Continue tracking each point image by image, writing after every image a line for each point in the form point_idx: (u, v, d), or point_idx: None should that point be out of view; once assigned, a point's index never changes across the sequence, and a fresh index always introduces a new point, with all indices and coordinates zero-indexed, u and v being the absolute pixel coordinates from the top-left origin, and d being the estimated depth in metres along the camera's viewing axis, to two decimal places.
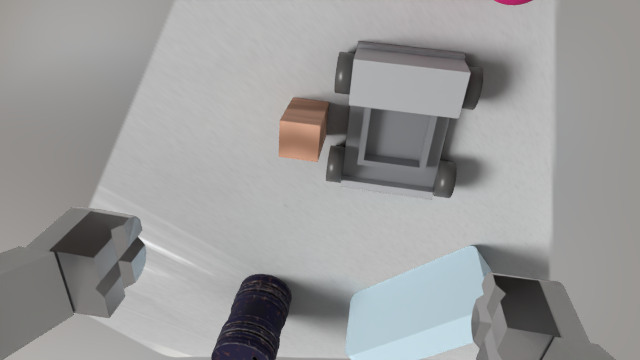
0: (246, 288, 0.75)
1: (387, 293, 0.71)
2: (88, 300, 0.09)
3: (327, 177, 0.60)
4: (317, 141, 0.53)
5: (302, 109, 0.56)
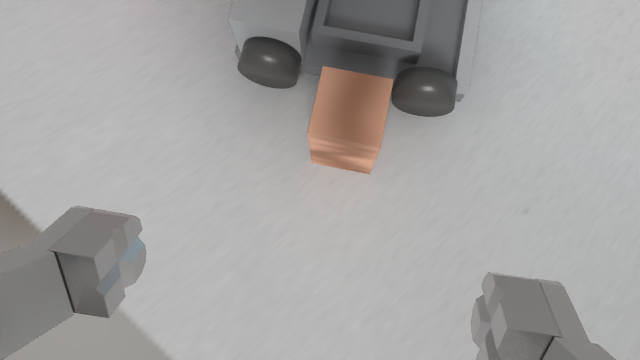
0: None
1: None
2: (88, 300, 0.09)
3: (441, 92, 0.33)
4: (352, 74, 0.30)
5: None
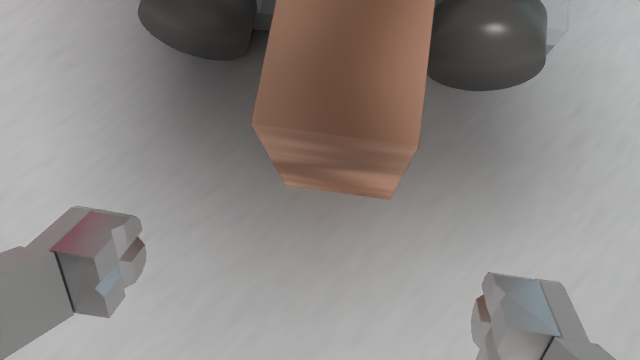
0: None
1: None
2: (88, 300, 0.09)
3: (525, 34, 0.17)
4: None
5: None
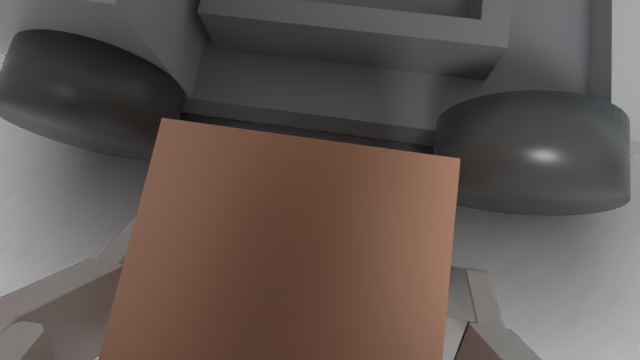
0: None
1: None
2: None
3: (605, 174, 0.10)
4: (283, 146, 0.07)
5: None
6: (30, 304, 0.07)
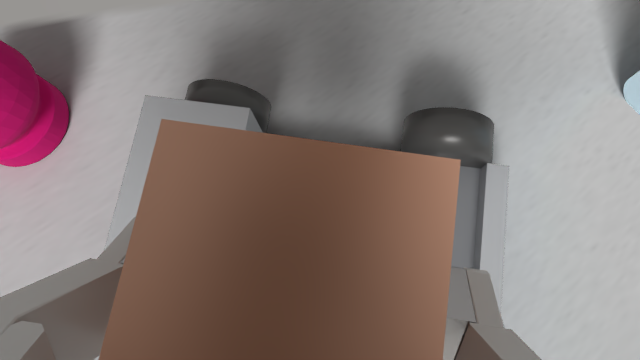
0: None
1: None
2: None
3: None
4: (283, 147, 0.07)
5: None
6: (30, 304, 0.07)
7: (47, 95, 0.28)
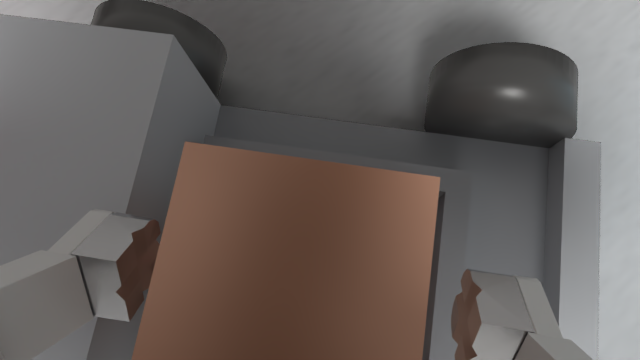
0: None
1: None
2: (108, 304, 0.09)
3: None
4: (289, 166, 0.08)
5: None
6: None
7: None
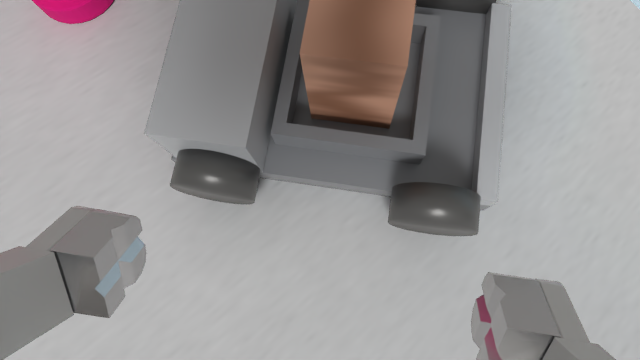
0: None
1: None
2: (88, 300, 0.09)
3: (459, 221, 0.23)
4: None
5: None
6: None
7: None
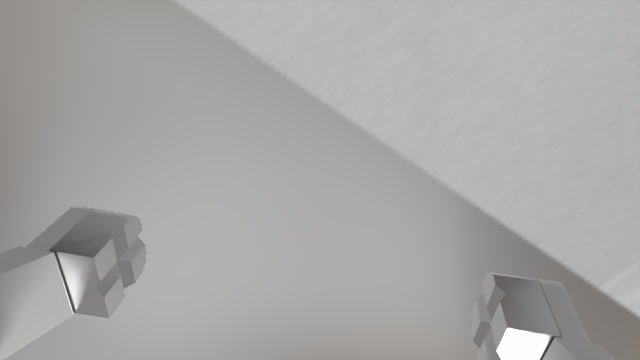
0: None
1: None
2: (88, 300, 0.09)
3: None
4: None
5: None
6: None
7: None
